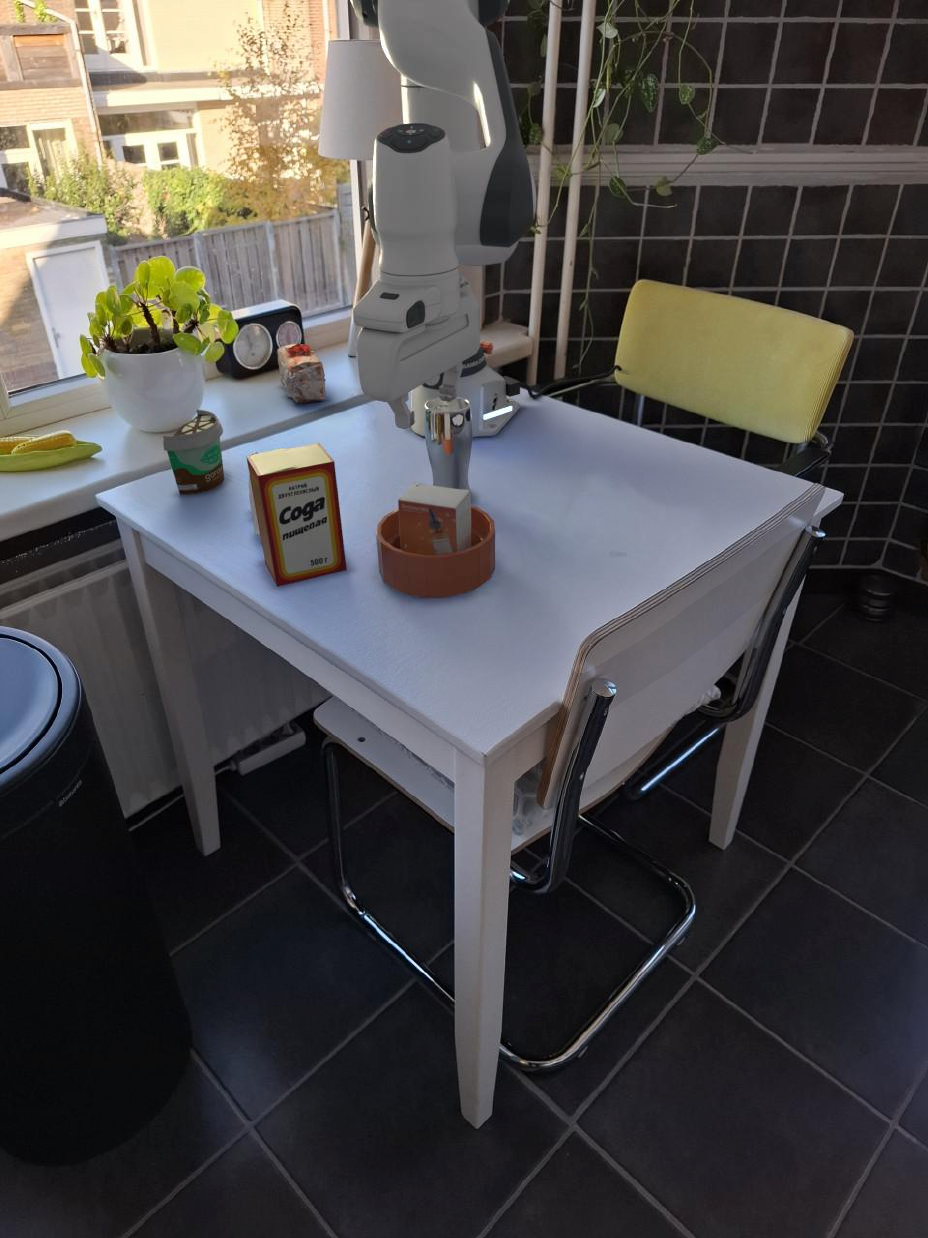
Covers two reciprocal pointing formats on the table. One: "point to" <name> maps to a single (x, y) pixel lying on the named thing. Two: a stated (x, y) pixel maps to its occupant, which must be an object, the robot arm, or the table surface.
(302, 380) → the food item
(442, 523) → the small box
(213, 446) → the food container
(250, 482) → the shaker set
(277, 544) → the baking soda box
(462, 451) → the beer glass
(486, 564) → the bowl
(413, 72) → the robot arm
